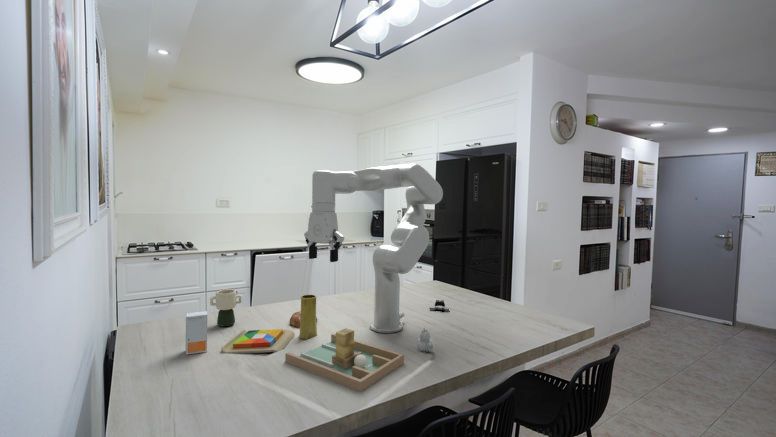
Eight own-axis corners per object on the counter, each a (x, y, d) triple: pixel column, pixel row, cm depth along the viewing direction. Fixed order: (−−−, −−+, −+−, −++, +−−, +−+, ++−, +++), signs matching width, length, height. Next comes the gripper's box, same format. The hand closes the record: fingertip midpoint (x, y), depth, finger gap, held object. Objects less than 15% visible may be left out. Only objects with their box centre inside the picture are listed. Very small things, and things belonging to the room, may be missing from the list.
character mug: (241, 320, 144) (241, 288, 144) (241, 326, 138) (241, 292, 137) (210, 323, 140) (210, 290, 139) (209, 329, 133) (209, 294, 133)
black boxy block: (453, 309, 166) (454, 299, 165) (453, 314, 158) (454, 304, 158) (426, 308, 168) (426, 298, 168) (425, 312, 161) (425, 302, 160)
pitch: (333, 344, 122) (333, 333, 122) (403, 366, 106) (404, 354, 106) (285, 365, 106) (285, 353, 106) (360, 396, 90) (360, 382, 90)
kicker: (346, 355, 110) (346, 326, 110) (361, 360, 107) (362, 330, 106) (330, 363, 104) (330, 332, 104) (345, 369, 101) (346, 337, 101)
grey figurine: (425, 347, 121) (425, 323, 121) (438, 354, 116) (439, 329, 115) (412, 350, 118) (413, 326, 118) (425, 358, 113) (426, 332, 112)
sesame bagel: (312, 329, 137) (312, 319, 137) (284, 328, 138) (284, 318, 137) (320, 318, 149) (320, 309, 149) (294, 317, 150) (294, 308, 149)
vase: (312, 340, 125) (313, 299, 125) (296, 338, 127) (296, 297, 126) (319, 333, 131) (320, 294, 131) (303, 332, 133) (304, 293, 132)
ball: (371, 361, 103) (364, 368, 104) (364, 350, 104) (357, 357, 105) (363, 365, 100) (356, 372, 101) (356, 354, 101) (349, 361, 103)
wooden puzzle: (243, 334, 131) (243, 324, 131) (295, 335, 130) (295, 326, 130) (219, 354, 114) (219, 343, 114) (279, 356, 113) (279, 345, 113)
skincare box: (185, 355, 111) (185, 316, 111) (185, 350, 115) (185, 312, 115) (207, 352, 114) (207, 314, 114) (207, 347, 118) (207, 310, 117)
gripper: (297, 207, 122) (296, 258, 123) (335, 209, 112) (334, 264, 113) (313, 207, 128) (313, 256, 129) (351, 209, 118) (350, 261, 119)
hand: (323, 260), depth 121 cm, fingers open, 9 cm apart
